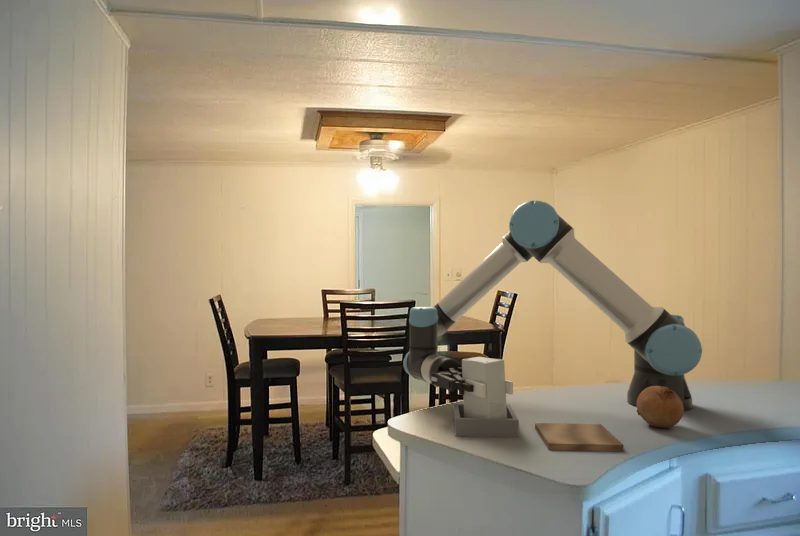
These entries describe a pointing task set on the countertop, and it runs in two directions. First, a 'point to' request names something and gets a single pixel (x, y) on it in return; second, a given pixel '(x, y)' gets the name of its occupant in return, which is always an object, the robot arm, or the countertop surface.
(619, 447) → the coaster
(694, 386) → the countertop surface
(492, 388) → the skincare box
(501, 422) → the holder
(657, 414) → the onion
